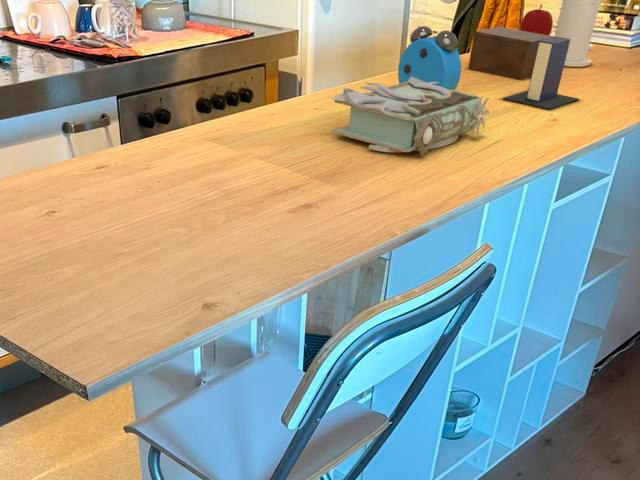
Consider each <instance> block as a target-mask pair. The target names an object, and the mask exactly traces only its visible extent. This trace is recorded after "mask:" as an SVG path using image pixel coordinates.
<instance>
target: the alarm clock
mask: <svg viewBox="0 0 640 480" xmlns="http://www.w3.org/2000/svg"><path fill="white" fill-rule="evenodd" d="M433 34H434V36H432V35H433ZM409 41H410V44H408V46H407V47H405V50H404V51H403V53H402V54H401V57H400V58H399V63H398V70H397V79H398V84H400V83H403V82H406V81H408V80H409V79H410V77H411V76H412V77H414V78H417V79H419V80H421V81H424V82H427V83H429V82H439V83H436V84H432V85H436V86H440V87H443V88H446V89H448V90H457V88H458V85H459V83H460V80H461V74H462V61H461V57H460V56H461V55H460V53H459V51H458V48H457V47H458V38H457V36H456V34H455V33H453V31H450V30H447V29H446V30H444V29H443V30H441V31H439V32H438V31H437V30H432V28H430V27H429V26H426V25H421V26H420V25H418V26H417V27H416V28H415V29H414V30H413V31H412V32H411V34H410V35H409Z"/></svg>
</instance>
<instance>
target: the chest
mask: <svg viewBox="0 0 640 480" xmlns="http://www.w3.org/2000/svg"><path fill="white" fill-rule="evenodd" d="M537 49H538V44H535V45H526V44H521V43H515V42H510V41H505V40H499V39H494V38H489V37H483V36H478V35H474V34H473V39H472V44H471V50H470V56H469V61H468V67H467V69H468V70H472V71H477V72H481V73H486V74H491V75H496V76H501V77H506V78H511V79H515V80H518V81H519V80H525V79H527V78H531V76H532V71H533V67H534V62H535V58H536V53H537Z"/></svg>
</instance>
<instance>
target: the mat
mask: <svg viewBox="0 0 640 480" xmlns="http://www.w3.org/2000/svg"><path fill="white" fill-rule="evenodd" d="M527 94H528V90H525V91H522V92H519V93H515V94H511V95H508V96H505V97H503V98H502V100H503V101H506V102H507V101H508V102H512V103H517V104H521V105H524V106H529V107H534V108H539V109H542V110H548V111H551V110H554V109H557V108H560V107H563V106H566V105H569V104H572V103H575V102H579V101H580V98H578V97H573V96H569V95H563V94H559V93H557V97H555V98H552V99H548V100H545V101H542V102H536V101H531V100H527V99H526V98H527Z"/></svg>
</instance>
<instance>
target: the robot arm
mask: <svg viewBox="0 0 640 480" xmlns="http://www.w3.org/2000/svg"><path fill="white" fill-rule="evenodd" d="M601 1H602V0H562V3H561V7H560V12H559V14H558V20H557V24H556V27H555V34H554V37H562V38H568V39H570V43H569V48H568V52H567V56H566V60H565V64H564V67H569V68H570V67H571V68H585V67H588V66H590V65H591V63H592V59H591V58H590V57H587V56H588V52H589V53H590V52H591V51H592V50H593V44H592V43H591V40H592V37H593V32H594V28H595V25H596V21H597V17H598V14H599V10H600V6H601V3H602V2H601Z"/></svg>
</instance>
